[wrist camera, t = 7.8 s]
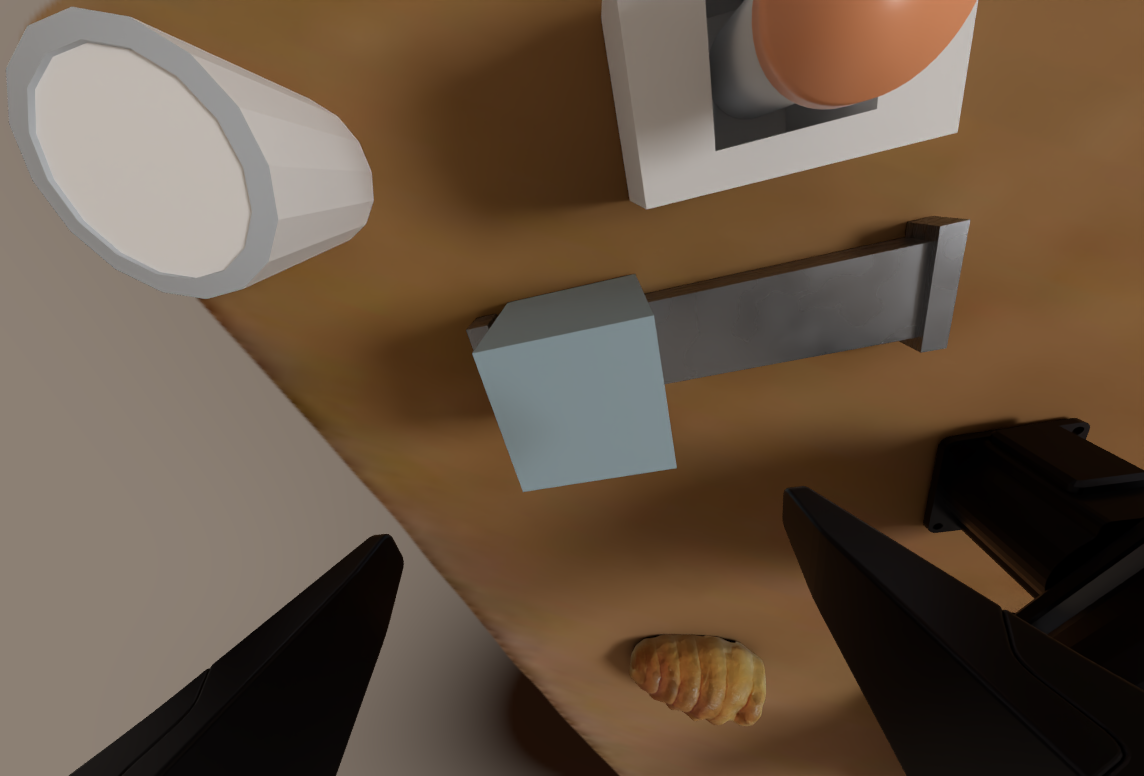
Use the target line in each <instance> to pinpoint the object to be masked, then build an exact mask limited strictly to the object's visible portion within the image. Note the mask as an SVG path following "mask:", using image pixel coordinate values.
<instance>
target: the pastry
mask: <svg viewBox="0 0 1144 776" xmlns="http://www.w3.org/2000/svg"><path fill="white" fill-rule="evenodd" d="M629 674H630V676H631V678H632V679H633V680H634V681H635V683H636V684H637V685H638V686H639V687H640V688H641V689H643V690H644V691H646V692H647V693H649V695H650V696H651V697H652V698H653V699H655V700H658V701H660V702H664V703H666V705H667V706H668V707H669V708H670V709H671V710H680V711H682V712H684V713H685V714H687V715H688V716H689V717H690V718H691V719H692V720H693V721H698V720H702V719H706V720H708V721H709V722H710V723H711V724H713V725H717V726H718V725H722V724H724V723H725V722H726V721H728V720H731V721H733V722H735V723H737V724H738V725H740V726H752V725H753V724H754V723H755V722H756V721H757V720H758V719H759V718H760V716H761V713H762V706H763V704H764V702H765V696H766V679H765V669H764V664H763V661H762V660H761V659H760V658H759V657H758V656H757V655H755V654H754V653H753V652H751V651H750V650H749V649H747V648H746V647H745V646H744V645H743V644H741V643H739V642H737V641H736V643H731V642H728V641H725V640H724V639H723V638H720V637H713V636H708V635H705V636H697V635H677V634H667V635H659V636H658V637H655V638H646V639H643V640H642V641H641V642H640V643H638V644H637V645H636V646H635V648H634V650H633V652H632V654H631V662H630V668H629Z"/></svg>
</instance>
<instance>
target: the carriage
mask: <svg viewBox="0 0 1144 776" xmlns="http://www.w3.org/2000/svg"><path fill="white" fill-rule="evenodd" d="M472 354H473V357H474V360H475V363H476V365H477V368H478V371H479V373H480V376H481V379H482V382H483V384H484V387H485V390H486V392H487V395H488V398H489V401H490V403H491V406H492V409H493V411H494V414H495V417H496V419H497V422H498V425H499V428H500V430H501V433H502V436H503V438H504V441H505V444H506V447H507V449H508V452H509V455H510V457H511V460H512V463H513V466H514V468H515V471H516V474H517V476H518V479H519V482H520V485H521V487H522V490H523V492H525V491H532V490H538V489H545V488H551V487H558V486H564V485H571V484H577V483H584V482H590V481H596V480H603V479H609V478H616V477H622V476H629V475H635V474H642V473H648V472H655V471H661V470H668V469H674V468H677V466H676V459H675V453H674V446H673V439H672V433H671V426H670V419H669V413H668V406H667V399H666V393H665V386H664V379H663V373H662V366H661V359H660V353H659V346H658V339H657V333H656V326H655V319H654V314H653V312H652V310H651V308H650V306H649V303H648V301H647V299H646V297H645V295H644V292H643V290H642V288H641V286H640V284H639V281H638V279H637V277H636V275H635V274H633V275H628V276H624V277H619V278H615V279H611V280H606V281H602V282H597V283H593V284H588V285H584V286H580V287H575V288H571V289H566V290H562V291H557V292H553V293H549V294H544V295H540V296H535V297H531V298H526V299H522V300H518V301H513V302H509V303H507V304H506V306H505V307H504V309H503V310H502V312H501V313H500V314H499V316H498V317H497V319H496V320H495V322H494V323H493V324H492V326H491V327H490V329H489V330H488V332H487V333H486V334H485V336H484V337H483V339H482V340H481V342H480V343H479V344H478V346H477V347H476V349H475V350H474V352H473V353H472Z"/></svg>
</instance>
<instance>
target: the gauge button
mask: <svg viewBox="0 0 1144 776" xmlns="http://www.w3.org/2000/svg"><path fill="white" fill-rule="evenodd" d="M976 1H977V0H744V1H743V3H742V4H741V5H740V6H739V7H738V9H737V10H736V11H735V12H734V13H733V15H732V16H731V17H730V18H729V19H728V21H727V22H726V23H725V24H724V25H723V27H722V28H721V30H720V31H719V32H718V34H717V36H716V38H715V40H714V42H713V45H712V47H711V50H710V53H709V62H710V76H711V91H712V99H713V100H714V102H715V104H716V105H717V106H718V108H719V109H720V110H722V111H723V112H724V113H725V114H727V115H729V116H731V117H733V118H736V119H742V120H749V119H755V118H759V117H761V116H764V115H767V114H769V113H772V112H775V111H777V110H780V109H782V108H785V107H788V106H790V105H793V104H795V103H796V104H798V105H800V106H804V107H807V108H812V109H821V110H824V109H836V108H841V107H846V106H850V105H853V104H856V103H860V102H863V101H866V100H870V99H873V98H876V97H879V96H882V95H884V94H886V93H888V92H890V91H893V90H895V89H897V88H898V87H900V86H901V85H903V84H905V83H906V82H908V81H910V80H911V79H912V78H914V77H915V76H916V75H917V74H919V73H920V72H921V71H923V70H924V69H925V68H926V67H927V66H928V65H929V64H930V63H931V62H933V61H934V60H935V59H936V58H937V57H938V56H939V54H940V53H941V52H942V51H943V50H944V49H945V48H946V47H947V46H948V44H949V43H950V42H951V40H952V39H953V38H954V37H955V35H956V34H957V33H958V31H959V30H960V28H961V27H962V25H963V24H964V22H965V21H966V19H967V17H968V16H969V14H970V13H971V11H972V9H973V7H974V5H975V3H976Z"/></svg>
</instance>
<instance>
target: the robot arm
mask: <svg viewBox="0 0 1144 776" xmlns="http://www.w3.org/2000/svg"><path fill="white" fill-rule="evenodd" d="M1089 429H1090V425H1089V424H1088V423H1086V422H1084V421H1082V420H1080V419H1077V418H1071V419H1064V420H1057V421H1051V422H1044V423H1038V424H1031V425H1024V426H1018V427H1011V428H1004V429H998V430H991V431H985V432H978V433H971V434H965V435H958V436H952V437H948V438H945V439H944V440H942V441H941V442H940V444H939V446H938V451H937V456H936V461H935V466H934V471H933V476H932V481H931V486H930V492H929V497H928V502H927V507H926V512H925V517H924V522H923V523H924V526H925V527H926V528H927V529H928V530H929V531H930V532H933V533H938V532H947V531H955V530H962V531H964V532H965V533H966V534H967V535H968V536H969V537H970V538H971V539H972V540H973V541H974V542H975V543H976V544H977V545H978V546H979V547H980V548H982V549H983V550H984V551H985V552H986V553H987V554H988V555H989V556H990V557H991V558H992V559H993V560H994V561H995V562H996V563H997V564H998V565H999V566H1001V567H1002V568H1003V569H1004V570H1005V571H1006V572H1007V573H1008V574H1009V575H1010V576H1011V577H1012V578H1013V579H1014V580H1015V581H1016V582H1017V583H1019V584H1020V585H1021V586H1022V587H1023V588H1024V589H1025V590H1026V591H1027V592H1028V593H1029V594H1030V595H1031V596H1032V597H1033V598H1034V600H1032V601H1031V602H1030V603H1028V604H1027V605H1026V606H1024V607H1023V608H1022V609H1020V610H1019V611H1018V612H1016V613H1011V612H1009V611H1007V610H1002V609H1001V607H1000V606H999V605H998V604H996V603H994V602H993V601H991V600H989V599H988V598H986V597H985V596H983V595H981V594H980V593H978V592H977V591H975V590H973V589H972V588H970V587H968V586H967V585H965V584H964V583H962V582H960V581H959V580H957V579H956V578H954V577H952V576H951V575H949V574H947V573H946V572H944V571H943V570H941V569H939V568H938V567H936V566H934V565H933V564H931V563H930V562H928V561H926V560H925V559H923V558H922V557H920V556H918V555H917V554H915V553H913V552H912V551H910V550H909V549H907V548H905V547H904V546H902V545H901V544H899V543H897V542H896V541H894V540H892V539H891V538H889V537H888V536H886V535H884V534H883V533H881V532H879V531H878V530H876V529H875V528H873V527H871V526H870V525H868V524H867V523H865V522H863V521H862V520H860V519H858V518H857V517H855V516H854V515H852V514H850V513H849V512H847V511H846V510H844V509H842V508H841V507H839V506H837V505H836V504H834V503H833V502H831V501H829V500H828V499H826V498H824V497H823V496H821V495H820V494H818V493H816V492H815V491H813V490H812V489H810V488H808V487H805V486H800V487H791V488H787V489H785V491H784V495H783V524H784V527H785V530H786V533H787V535H788V538H789V540H790V543H791V545H792V548H793V550H794V553H795V555H796V558H797V560H798V563H799V565H800V568H801V570H802V573H803V575H804V578H805V580H806V583H807V585H808V588H809V590H810V592H811V595H812V597H813V599H814V601H815V603H816V605H817V607H818V609H819V611H820V613H821V615H822V617H823V619H824V621H825V623H826V624H827V626H828V628H829V630H830V632H831V634H832V636H833V638H834V640H835V641H836V643H837V645H838V647H839V649H840V651H841V653H842V655H843V657H844V658H845V660H846V662H847V664H848V666H849V668H850V670H851V672H852V674H853V675H854V677H855V679H856V681H857V683H858V685H859V687H860V689H861V691H862V692H863V694H864V696H865V698H866V700H867V702H868V704H869V706H870V708H871V709H872V711H873V713H874V715H875V717H876V719H877V721H878V723H879V725H880V726H881V728H882V730H883V732H884V734H885V736H886V738H887V740H888V742H889V743H890V745H891V747H892V749H893V751H894V753H895V755H896V757H897V759H898V760H899V762H900V764H901V766H902V768H903V770H904V772H905V774H906V776H1144V470H1142V469H1140V468H1138V467H1137V466H1135V465H1133V464H1131V463H1129V462H1127V461H1125V460H1123V459H1121V458H1119V457H1118V456H1116V455H1114V454H1112V453H1110V452H1108V451H1106V450H1104V449H1102V448H1100V447H1098V446H1097V445H1095V444H1093V443H1091V442H1089V441H1087V440H1086V437H1087V435H1088V432H1089ZM403 562H404V561H403V557H402V555H401V553H400V551H399V549H398V547H397V545H396V543H395V541H394V540H393V538H392V536H390V535H389V534H381V535H374V536H371V537H369V538H368V539H367V540H366V541H364V542H363V543H362V544H361V545H359V546H358V547H357V548H356V549H354V550H353V551H352V552H351V553H350V554H348V555H347V556H346V557H345V558H343V559H342V560H341V561H340V562H338V563H337V564H336V565H335V566H333V567H332V568H331V569H330V570H329V571H327V572H326V573H325V574H324V575H322V576H321V577H320V578H319V579H318V580H316V581H315V582H314V583H313V584H311V585H310V586H309V587H308V588H306V589H305V590H304V591H303V592H302V593H300V594H299V595H298V596H297V597H295V598H294V599H293V600H292V601H290V602H289V603H288V604H287V605H285V606H284V607H283V608H282V609H280V610H279V611H278V612H277V613H276V614H275V615H273V616H272V617H271V618H269V619H268V620H267V621H266V622H264V623H263V624H262V625H261V626H260V627H258V628H257V629H256V630H255V631H253V632H252V633H251V634H250V635H248V636H247V637H246V638H245V639H243V640H242V641H241V642H240V643H239V644H237V645H236V646H235V647H234V648H232V649H231V650H230V651H229V652H227V653H226V654H225V655H224V656H222V657H221V658H220V659H219V660H218V661H216V662H215V663H214V664H213V665H212V666H211V668H210V669H207V670H205V671H204V672H203V673H201V674H200V675H199V676H198V677H197V678H195V679H194V680H193V681H192V682H190V683H189V684H188V685H187V686H185V687H184V688H183V689H182V690H180V691H179V692H178V693H177V694H175V695H174V696H173V697H172V698H170V699H169V700H168V701H167V702H165V703H164V704H163V705H162V706H160V707H159V708H158V709H156V710H155V711H154V712H153V713H151V714H150V715H149V716H148V717H146V718H145V719H143V720H142V721H141V722H139V723H138V724H137V725H135V726H134V727H133V728H132V729H130V730H129V731H128V732H126V733H125V734H124V735H122V736H121V737H120V738H119V739H117V740H116V741H115V742H113V743H112V744H110V745H109V746H108V747H106V748H105V749H104V750H102V751H101V752H100V753H98V754H97V755H96V756H94V757H93V758H92V759H90V760H89V761H88V762H86V763H85V764H84V765H82V766H81V767H80V768H78V769H77V770H75V771H74V772H73V773H72V774H70V775H69V776H336V774H337V771H338V768H339V766H340V763H341V760H342V757H343V754H344V752H345V749H346V746H347V743H348V740H349V738H350V735H351V732H352V729H353V726H354V723H355V721H356V718H357V715H358V712H359V709H360V707H361V704H362V701H363V698H364V695H365V692H366V690H367V687H368V684H369V681H370V678H371V676H372V673H373V670H374V667H375V664H376V662H377V659H378V656H379V653H380V650H381V647H382V645H383V641H384V639H385V636H386V632H387V629H388V625H389V622H390V618H391V614H392V610H393V606H394V602H395V598H396V594H397V590H398V586H399V582H400V579H401V575H402V571H403V565H404V563H403Z"/></svg>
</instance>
